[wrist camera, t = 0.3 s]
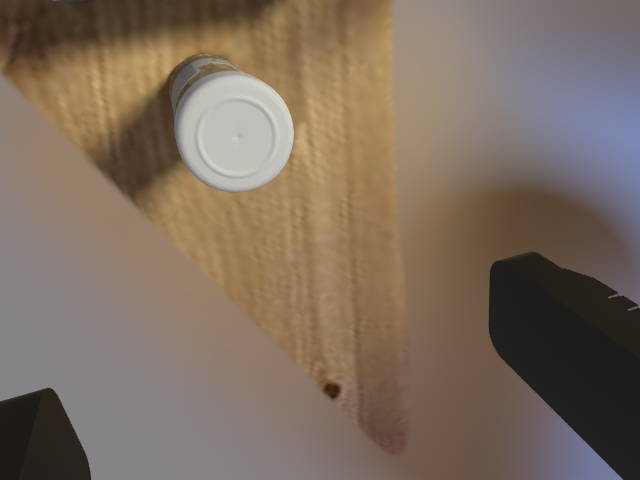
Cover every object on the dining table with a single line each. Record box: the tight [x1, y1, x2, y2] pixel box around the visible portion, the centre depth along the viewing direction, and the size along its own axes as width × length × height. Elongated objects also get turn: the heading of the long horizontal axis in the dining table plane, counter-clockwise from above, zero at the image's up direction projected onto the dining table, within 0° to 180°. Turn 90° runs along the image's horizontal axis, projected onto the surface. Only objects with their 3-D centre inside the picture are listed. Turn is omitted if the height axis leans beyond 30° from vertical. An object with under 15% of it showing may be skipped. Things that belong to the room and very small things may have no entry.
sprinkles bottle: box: [169, 54, 294, 192], centre depth 25 cm, size 5×5×14 cm
